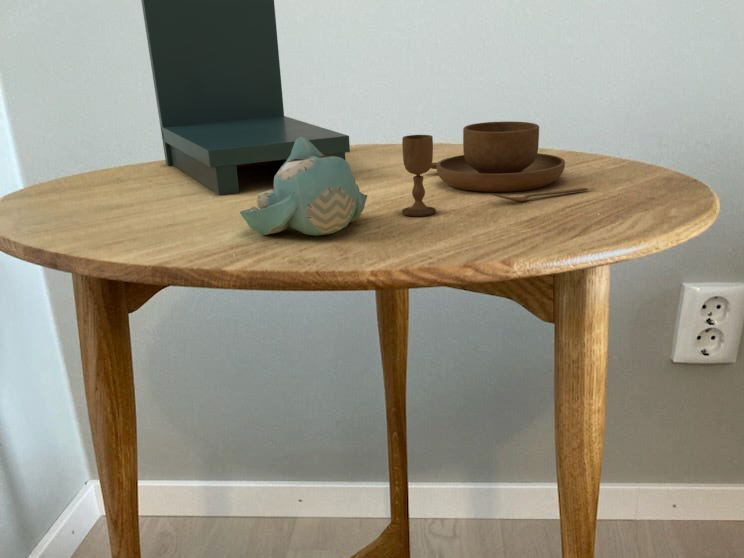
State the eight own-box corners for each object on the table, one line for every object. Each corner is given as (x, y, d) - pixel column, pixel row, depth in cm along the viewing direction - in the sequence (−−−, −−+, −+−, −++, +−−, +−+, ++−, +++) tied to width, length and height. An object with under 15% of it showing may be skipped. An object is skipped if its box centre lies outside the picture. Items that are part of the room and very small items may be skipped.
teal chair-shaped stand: (351, 178, 90) (337, -86, 79) (213, 195, 86) (178, -84, 75) (284, 151, 107) (264, -70, 96) (166, 164, 103) (131, -67, 92)
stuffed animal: (329, 138, 77) (392, 123, 67) (341, 226, 80) (403, 224, 69) (207, 152, 73) (254, 138, 63) (223, 244, 76) (271, 245, 65)
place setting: (611, 188, 81) (617, 116, 78) (415, 219, 74) (413, 141, 71) (502, 162, 95) (503, 100, 92) (327, 186, 87) (322, 119, 84)
